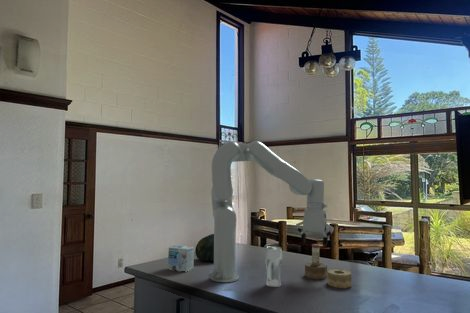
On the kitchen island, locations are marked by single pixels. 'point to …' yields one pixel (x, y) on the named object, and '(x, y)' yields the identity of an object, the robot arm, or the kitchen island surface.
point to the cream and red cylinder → (315, 254)
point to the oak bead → (339, 278)
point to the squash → (205, 248)
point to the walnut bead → (316, 271)
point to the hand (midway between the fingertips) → (314, 244)
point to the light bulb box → (181, 258)
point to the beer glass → (273, 265)
